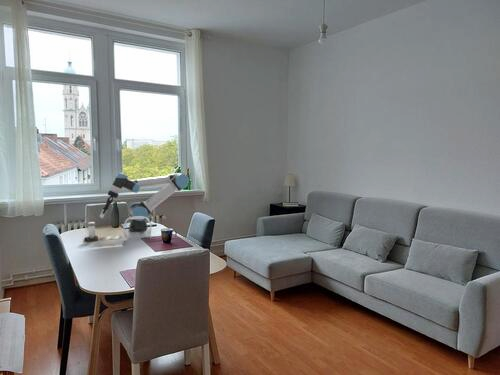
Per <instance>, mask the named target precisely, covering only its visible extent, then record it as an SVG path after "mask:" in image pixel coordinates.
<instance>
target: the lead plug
mask: <svg viewBox="0 0 500 375" xmlns="http://www.w3.org/2000/svg"><path fill="white" fill-rule="evenodd" d="M87 228H88V237H89V239H90V238H96V237H95V236H96V223H95V221H89V222H87Z"/></svg>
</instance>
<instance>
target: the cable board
mask: <svg viewBox="0 0 500 375" xmlns="http://www.w3.org/2000/svg"><path fill="white" fill-rule="evenodd" d="M95 237H96V238H90V239H89V236H85V237H84V239H83V240H82V241H83V243H93V242H94V243H95V242H102V241H111V240H120V239H123V238H122V236H121V235H112V236H104V237H102V236H101V237H99V236H98V235H95Z"/></svg>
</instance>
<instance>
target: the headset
mask: <svg viewBox="0 0 500 375" xmlns="http://www.w3.org/2000/svg"><path fill="white" fill-rule="evenodd" d="M144 218H146V219H145V220H146V221H147V222H148V224H149V227H148V228H147V230H146V238H150V239H149V240H151V238H152V227H153V226H152V222H151V221H150V219H149V218H148V216H147V217H144V216H134V217H131V216H129V217H128V218H127V219H125V221H124V224H123V227H122V228H123V234H124V235H123V236H124V240H126V239H127V240H128V239H129V238H130V232H129V228H126V224H127V223H128V221H129V220H130V221H131V220H134V219H144Z"/></svg>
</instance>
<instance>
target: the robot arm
mask: <svg viewBox="0 0 500 375" xmlns="http://www.w3.org/2000/svg"><path fill="white" fill-rule="evenodd" d="M128 177H129V175H126V174H124V173H122V172H118V173H117V175H116V177H115V178H114V181H113V183H112V185H110V189H109V190H108V192H107V195H108V196H109V197H107V200H106V204H105V205H104V207H102V211H101V212H100V214H99V218H101V219H103V218H104V217H105V215H106V213H107V211H108V210H109V207H110V205H111V204H112V203H113V201H114V199H118V196H119V194H120V193H121V191H122V189H126V190H128V191H130V192H132V193H136V194H137V193H138V192H139V190H140V189H143V188H144V189H145V188H152V187H153V188H154V187H161V186H164V187H162V188H160V189H159V190H158V191H157V192H156V193H154V194H153V195H152V196H151V197H149V198H148V199H146V200H145V201H144V200H143V201H140V202H130V205H129V208H130V210H129V211H130V212H129V213H130V217H134V216H144V217H147V218H148V217H149V215H151V214H152V212H153V210H154V209H155V208H156V207H158V206H159V205H160V204H161V203H162V202H164V201H166V200H167V199H168V198H169V197H170V196H172V195H173V194H174V193H175V192H180V191H181V190H182V189H185V188H186V187H188V186H189V184H190V178H189V176H188V175H187V174H186V173H183V172H176V173H171V174H167V175H164V176H156V177H155V176H154V177H147V178H139V179H129V178H128ZM148 226H149V225H148V224H147V219H146V218H144V219H134V220H131V219H130V223H129V226H128V230H129V231H130V232H143V231H147V228H148Z"/></svg>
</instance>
